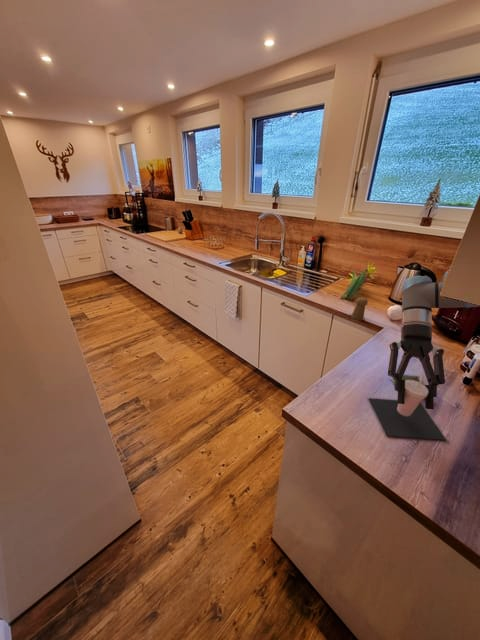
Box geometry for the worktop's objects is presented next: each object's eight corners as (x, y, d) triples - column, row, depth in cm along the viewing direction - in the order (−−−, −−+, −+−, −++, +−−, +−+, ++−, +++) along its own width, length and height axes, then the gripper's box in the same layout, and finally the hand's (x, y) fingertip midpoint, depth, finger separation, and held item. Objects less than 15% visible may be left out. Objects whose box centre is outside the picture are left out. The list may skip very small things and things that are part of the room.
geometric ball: (396, 325, 136) (409, 318, 129) (383, 318, 136) (395, 312, 129) (396, 313, 140) (408, 306, 133) (383, 307, 139) (395, 299, 132)
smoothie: (408, 423, 74) (427, 386, 67) (387, 408, 79) (403, 372, 72) (420, 414, 77) (439, 378, 70) (399, 400, 82) (415, 365, 75)
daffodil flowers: (328, 296, 162) (350, 269, 181) (347, 311, 161) (366, 283, 179) (346, 280, 148) (367, 252, 167) (366, 297, 146) (385, 267, 165)
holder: (415, 382, 94) (418, 375, 92) (429, 399, 87) (432, 392, 85) (391, 380, 94) (394, 373, 93) (403, 397, 87) (406, 391, 85)
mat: (418, 402, 85) (419, 401, 85) (445, 440, 73) (446, 439, 73) (368, 399, 86) (369, 398, 86) (387, 436, 74) (387, 435, 73)
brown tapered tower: (348, 317, 136) (354, 298, 131) (354, 314, 140) (359, 295, 134) (360, 321, 132) (365, 302, 127) (365, 318, 136) (371, 298, 130)
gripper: (445, 334, 80) (446, 413, 74) (377, 325, 84) (372, 399, 78) (461, 328, 73) (463, 414, 67) (386, 318, 76) (382, 399, 70)
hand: (415, 406), depth 72 cm, fingers closed on smoothie, 6 cm apart
